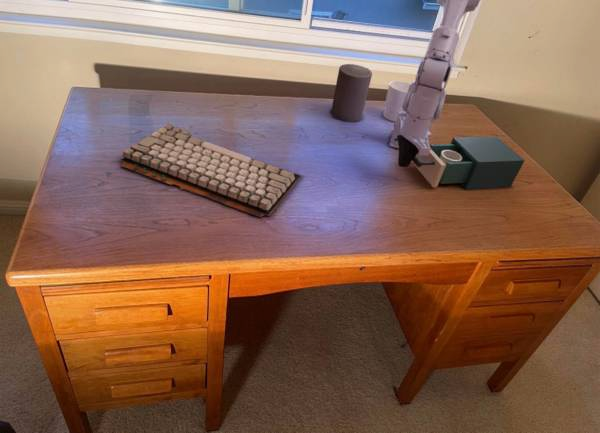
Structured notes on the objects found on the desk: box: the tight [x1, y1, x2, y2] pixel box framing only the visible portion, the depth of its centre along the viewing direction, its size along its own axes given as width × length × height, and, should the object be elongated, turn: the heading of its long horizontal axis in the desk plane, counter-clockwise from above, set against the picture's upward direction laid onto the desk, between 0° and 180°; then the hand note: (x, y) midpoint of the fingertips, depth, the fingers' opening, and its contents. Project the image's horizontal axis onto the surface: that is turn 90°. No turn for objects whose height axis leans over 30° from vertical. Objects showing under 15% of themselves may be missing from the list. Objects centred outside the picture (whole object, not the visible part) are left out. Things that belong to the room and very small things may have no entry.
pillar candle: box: [330, 63, 373, 122], centre depth 127 cm, size 10×10×15 cm
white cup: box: [382, 80, 411, 123], centre depth 132 cm, size 8×8×10 cm
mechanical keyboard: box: [120, 122, 302, 218], centre depth 98 cm, size 38×19×3 cm, turn 68°
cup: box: [439, 150, 462, 175], centre depth 108 cm, size 5×5×4 cm
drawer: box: [411, 143, 475, 188], centre depth 107 cm, size 17×10×6 cm, turn 105°
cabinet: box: [450, 136, 526, 191], centre depth 111 cm, size 14×12×8 cm
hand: (402, 165), depth 104 cm, fingers closed
